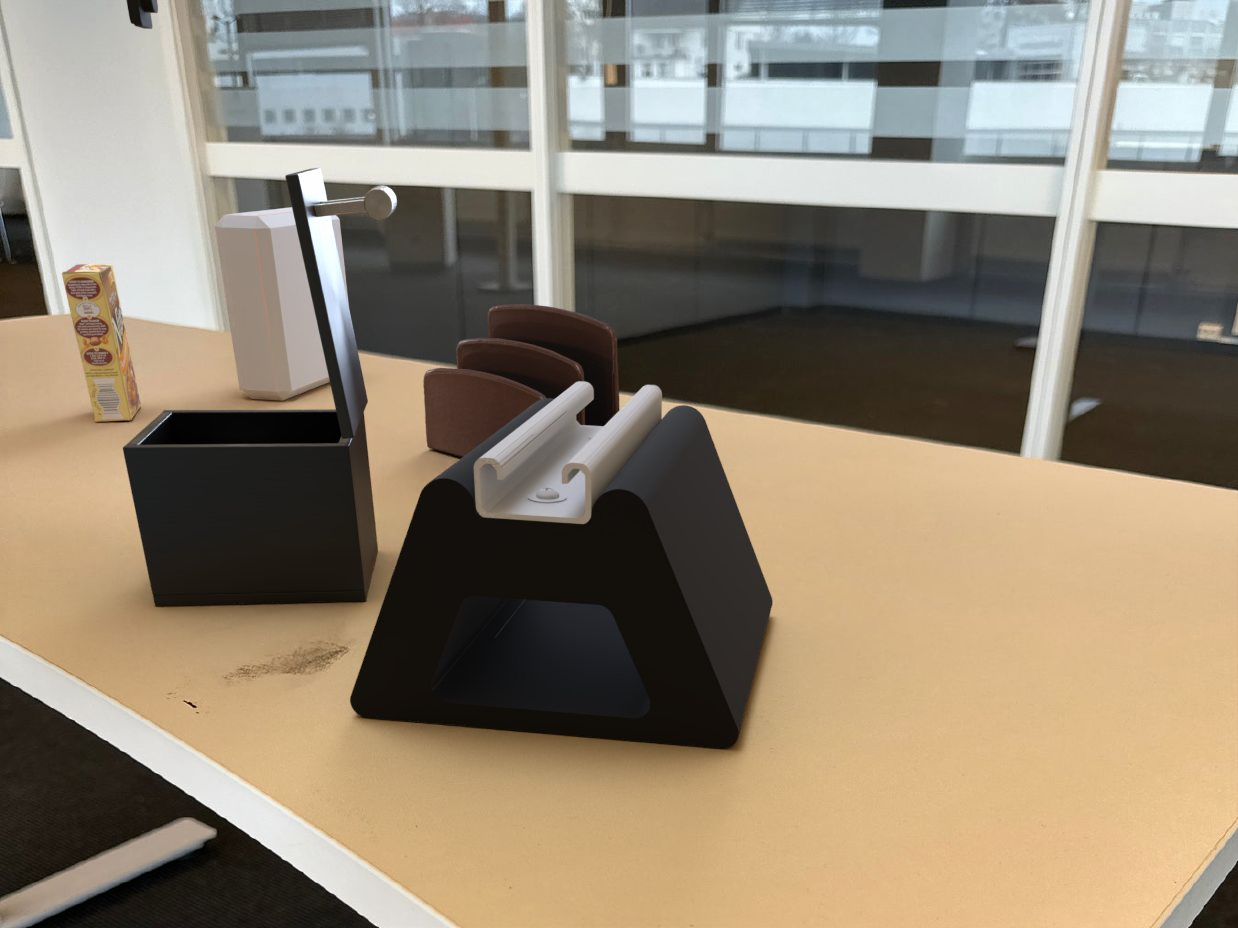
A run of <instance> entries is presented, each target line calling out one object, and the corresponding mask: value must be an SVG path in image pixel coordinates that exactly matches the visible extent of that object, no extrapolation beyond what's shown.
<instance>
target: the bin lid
mask: <svg viewBox="0 0 1238 928" xmlns="http://www.w3.org/2000/svg"><path fill="white" fill-rule="evenodd" d="M285 181H286V187H287V191H288V196H289V200H290V205H291V207H292V210H293V215H294V219H295V224H296V228H297V233H298V238H299V242H300V247H301V251H302V256H303V261H304V265H305V270H306V274H307V279H308V284H309V288H310V293H311V297H312V302H313V307H314V311H315V316H316V321H317V325H318V330H319V334H320V339H321V344H322V348H323V353H324V357H325V362H326V367H327V371H328V376H329V380H330V382H329V384H330V389H331V393H332V398H333V403H334V409H336V413H337V417H338V422H339V426H340V431H341V436H342V438H343V439H347V438H353V437H354V435H355V433H356V430H357V428H358V425H359V423H360V420H361V418H362V415H363V413H364V414H365V410H366V407H367V405H368V402H369V400H368V395H367V389H366V385H365V380H364V374H363V370H362V366H361V365H362V364H361V360H360V354H359V350H358V346H357V341H356V336H355V331H354V325H353V320H352V316H351V311H350V304H349V299H348V300H347V295H346V291H345V286H344V281H343V276H342V271H341V266H340V261H339V256H338V251H337V246H336V241H335V236H334V231H333V226H332V222H331V217H330V216H333V215H336V216H341V215H352V214H361V213H366V214H367V215H368V216H369V217H370V218H371V219H372V220H375V221H384V220H387V219H389V217H390V216H391V215H392V214H393V213H394V212H395V210H396V208H397V205H398V200H397V195H396V193H395V192H394V190H393V189H392V188H390V187H389V186H387V185H382V184H381V185H377V186H374V187H373V188H371V189H370V190H368V191H367V192H366V194H365V195H364V196H357V197H349V198H339V199H329V200H328V198H327V197H328V196H327V192H326V187H325V182H324V177H323V173H322V169H321V167H314V168H313V167H312V168H308V169H304V170H300V171H296V172H292V173H288V174H285ZM348 304H349V305H348Z"/></svg>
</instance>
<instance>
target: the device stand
mask: <svg viewBox="0 0 1238 928" xmlns="http://www.w3.org/2000/svg"><path fill="white" fill-rule="evenodd" d="M593 399H594V390H593V387H592V385H591V384H590V383H588V382H581V381H579V382H576V383H574V384H573V385H572V386H571V387H569V388H568V389H567V390H566V391H564V392H563V393H562V394H560V395H559V396H558V397H557V398H555V399H552V398H544V399H541V400H539V401H537V402H535V403H534V404H533V405H531V406H530V407H529V408H527V409H526V410H525V411H523V412H522V413H521V414H519V415H518V416H517V417H516V418H514V419H513V420H512V421H510V422H509V423H508V424H506V425H505V426H504V427H502V428H501V429H500V430H498V431H497V432H496V433H494V434H493V435H492V436H490V437H489V438H488V439H486V440H485V441H484V442H482V443H481V444H480V445H478V446H477V447H476V448H474V449H473V450H472V451H470V452H469V453H468V454H466V455H465V456H464V457H462V458H461V457H460V459H459V460H457V461H455V462H454V463H453V464H452V465H450V466H449V467H448V468H446V469H445V470H444V471H442V472H440V474H439V475H437V476H436V477H434V478H433V479H432V480H430V481H429V482H428V483H427V484H426V485H424V487H423V488H422V489H421V491H420V493H419V496H418V499H417V502H416V504H415V508H414V510H413V514H412V517H411V519H410V521H409V525H408V528H407V531H406V534H405V537H404V540H403V543H402V546H401V548H400V552H399V555H398V557H397V560H396V564H395V566H394V569H393V571H392V575H391V577H390V581H389V583H388V586H387V589H386V591H385V594H384V595H385V596H384V598H383V601H382V604H381V605H380V608H379V609H380V611H379V613H378V616H377V617H376V620H375V624H374V627H373V630H372V633H371V637H370V639H369V641H368V644H367V648H366V651H365V654H364V656H363V659H362V662H361V665H360V668H359V671H358V674H357V677H356V678H355V683H354V686H353V688H352V691H351V694H350V696H349V703H350V706H351V709H352V710H353V711H354V712H355V713H356V714H357V716H360V717H362V718H364V719H371V720H372V719H373V720H383V721H384V720H386V721H396V722H407V723H421V724H431V725H442V726H452V727H453V726H454V727H464V728H465V727H466V728H477V729H489V730H500V731H513V732H522V733H534V734H535V733H536V734H546V735H558V736H568V737H569V736H570V737H580V738H590V739H591V738H592V739H603V740H616V741H626V742H638V743H648V744H649V743H651V744H661V745H673V746H684V747H686V746H687V747H695V748H696V747H697V748H706V749H707V748H708V749H720V750H727V749H730V748H732V747H733V746H734V745H735V744H736V743H737V742H738V740H739V736H740V733H741V729H742V725H743V722H744V718H745V714H746V709H747V706H748V702H749V697H750V693H751V689H752V686H753V683H754V679H755V674H756V670H757V667H758V662H759V658H760V654H761V650H762V647H763V642H764V639H765V634H766V632H767V631H766V630H767V627H768V623H769V619H770V616H771V611H772V607H773V603H774V601H773V596H772V594H771V592H770V589H769V586H768V584H767V581H766V578H765V576H764V574H763V570H762V568H761V565H760V562H759V560H758V556H757V555H756V552H755V549H754V547H753V544H752V541H751V538H750V536H749V533H748V530H747V528H746V525H745V521H744V520H743V517H742V515H741V511H740V509H739V506H738V504H737V501H736V498H735V496H734V493H733V491H732V488H731V485H730V483H729V480H728V477H727V474H726V472H725V469H724V466H723V464H722V461H721V459H720V455H719V453H718V451H717V447H716V446H715V442H714V439H713V438H712V437H713V436H712V434H711V432H710V429H709V427H708V423H707V422H706V419H705V417H704V416H703V413H701V412H700V411H699V410H698V409H697V408H696V407H693V406H691V405H686V404H681V405H677V406H674V407H672V408H671V409H670V410H668V411H667V412H666V413H665V415H664V416H662V415H663V414H662V413H663V392H662V389H661V388H660V387H659V386H658V385H656V384H645V385H644V386H642V387H641V388H640V389H639V390H638V391H637V392H636V393H634V395H633V396H632V397H631V398H630V399H629V400H628V401H627V402H626V403H625V404H624V405H623V406H622V407H621V408H619V411H618V412H617V413H616V414H615V415H614V417H613V418H612V419H611V420H610V421H609V422H608V423H607V424H606V425H605V426H587V425H580V424H579V423H578V422H577V420H576V414H578V413H579V412H580V411H581V410H582V409H583V408H584V407H585V406H587V405H588V404H589V403H590V402H591V401H592V400H593Z"/></svg>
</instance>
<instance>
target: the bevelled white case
mask: <svg viewBox="0 0 1238 928" xmlns="http://www.w3.org/2000/svg"><path fill="white" fill-rule="evenodd" d="M330 217H331V222H332V226H333V231H334V236H335V241H336V246H337V251H338V256H339V261H340V266H341V271H342V276H343V281H344V286H345V291H346V295H347V300H348V301H349V295H348V285H347V276H346V267H345V258H344V248H343V240H342V230H341V229H342V228H341V220H340V218H339V216H338V215H333V216H330ZM214 230H215V237H216V244H217V250H218V251H217V252H218V256H219V263H220V270H221V276H222V283H223V284H222V285H223V289H224V294H225V303H226V310H227V317H228V321H229V328H230V335H231V342H232V348H233V349H232V350H233V354H234V355H233V356H234V362H235V368H236V373H237V375H236V376H237V382H238V388H239V389H240V390H241V391H242V392H243V393H244V394H245V395H247V397H249V398H250V399H251V400H264V401H282V402H283V401H286V400H288V399H291V398H293V397H296V396H299V395H300V394H303V393H306V392H309V391H310V390H313V389H316V388H318V387H321V386H323V385H326V384H330V380H329V376H328V371H327V367H326V362H325V357H324V353H323V348H322V344H321V339H320V334H319V330H318V325H317V321H316V316H315V311H314V307H313V302H312V297H311V293H310V288H309V284H308V279H307V274H306V270H305V265H304V261H303V256H302V251H301V247H300V242H299V238H298V233H297V228H296V224H295V219H294V215H293V210H292V206H291V207H282V208H274V209H273V208H272V209H264V210H254V211H247V212H237V213H236V212H235V213H228V214H223V215H222V216H221V218H220V219H219V220H218V221H217V223H216V224H215V225H214ZM348 305H349V306H350V304H349V303H348Z"/></svg>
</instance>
